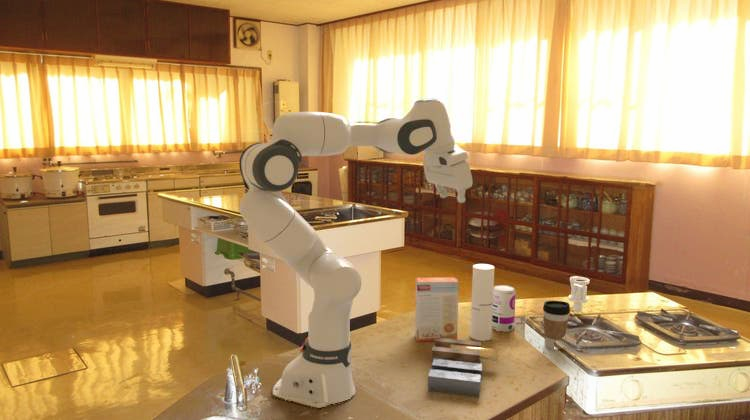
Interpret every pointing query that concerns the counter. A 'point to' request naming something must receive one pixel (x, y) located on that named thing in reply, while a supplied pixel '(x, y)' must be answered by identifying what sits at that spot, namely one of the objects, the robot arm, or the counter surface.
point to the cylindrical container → (482, 302)
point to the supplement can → (503, 308)
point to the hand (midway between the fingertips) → (452, 199)
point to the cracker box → (436, 308)
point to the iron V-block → (455, 378)
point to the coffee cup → (555, 321)
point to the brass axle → (484, 352)
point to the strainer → (578, 292)
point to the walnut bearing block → (455, 351)
